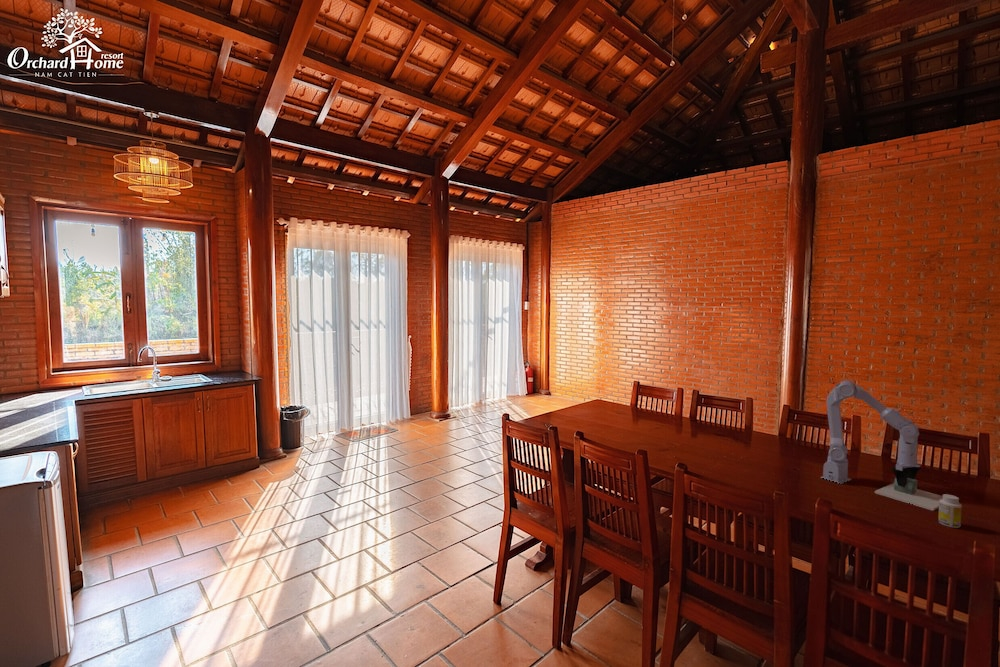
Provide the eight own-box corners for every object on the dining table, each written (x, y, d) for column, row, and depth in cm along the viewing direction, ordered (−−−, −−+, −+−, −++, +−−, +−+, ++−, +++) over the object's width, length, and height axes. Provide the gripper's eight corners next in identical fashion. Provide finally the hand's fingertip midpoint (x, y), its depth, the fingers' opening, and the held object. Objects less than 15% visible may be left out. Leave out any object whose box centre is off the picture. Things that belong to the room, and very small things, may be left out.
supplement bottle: (959, 524, 156) (961, 496, 155) (961, 530, 152) (963, 501, 151) (937, 519, 160) (939, 491, 159) (938, 524, 156) (940, 496, 155)
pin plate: (933, 510, 166) (933, 498, 166) (874, 492, 182) (875, 481, 182) (951, 500, 175) (952, 488, 174) (894, 484, 190) (895, 473, 190)
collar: (910, 494, 178) (911, 482, 178) (894, 490, 183) (894, 478, 182) (916, 492, 181) (917, 480, 180) (899, 487, 185) (900, 475, 185)
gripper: (912, 457, 174) (910, 491, 175) (927, 451, 181) (925, 484, 182) (890, 452, 180) (888, 484, 181) (905, 447, 187) (903, 478, 188)
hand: (905, 484), depth 182 cm, fingers open, 7 cm apart
